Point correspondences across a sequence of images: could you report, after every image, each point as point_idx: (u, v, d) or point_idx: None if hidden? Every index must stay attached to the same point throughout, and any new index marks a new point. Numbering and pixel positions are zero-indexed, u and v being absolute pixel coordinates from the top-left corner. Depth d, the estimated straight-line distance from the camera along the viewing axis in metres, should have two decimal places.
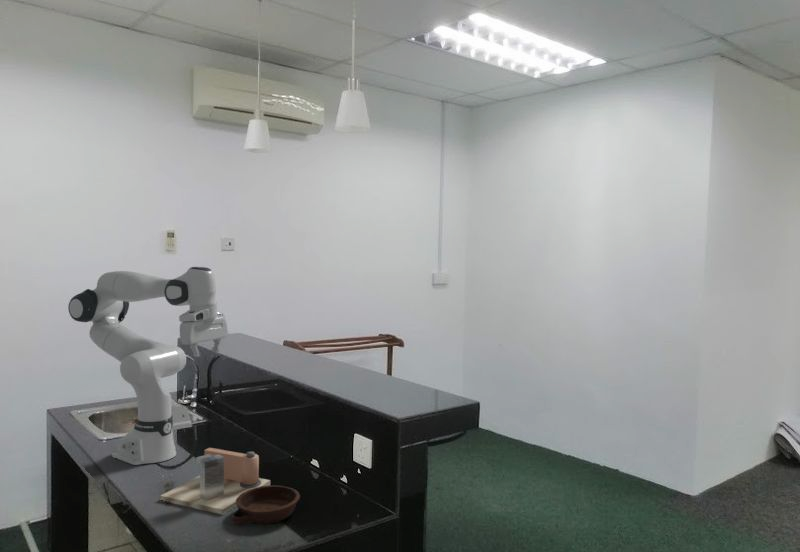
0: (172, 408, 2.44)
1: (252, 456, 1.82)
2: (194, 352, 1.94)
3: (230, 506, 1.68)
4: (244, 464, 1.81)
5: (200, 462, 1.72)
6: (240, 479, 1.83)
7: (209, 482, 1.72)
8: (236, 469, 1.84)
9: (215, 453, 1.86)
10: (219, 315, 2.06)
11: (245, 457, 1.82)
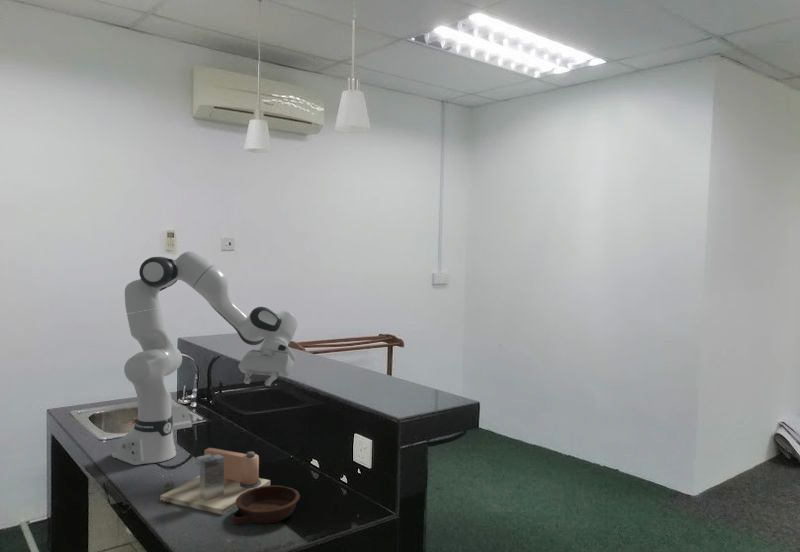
0: (172, 408, 2.44)
1: (252, 456, 1.82)
2: (270, 380, 2.02)
3: (230, 506, 1.68)
4: (244, 464, 1.81)
5: (200, 462, 1.72)
6: (240, 479, 1.83)
7: (209, 482, 1.72)
8: (236, 469, 1.84)
9: (215, 453, 1.86)
10: None
11: (245, 457, 1.82)
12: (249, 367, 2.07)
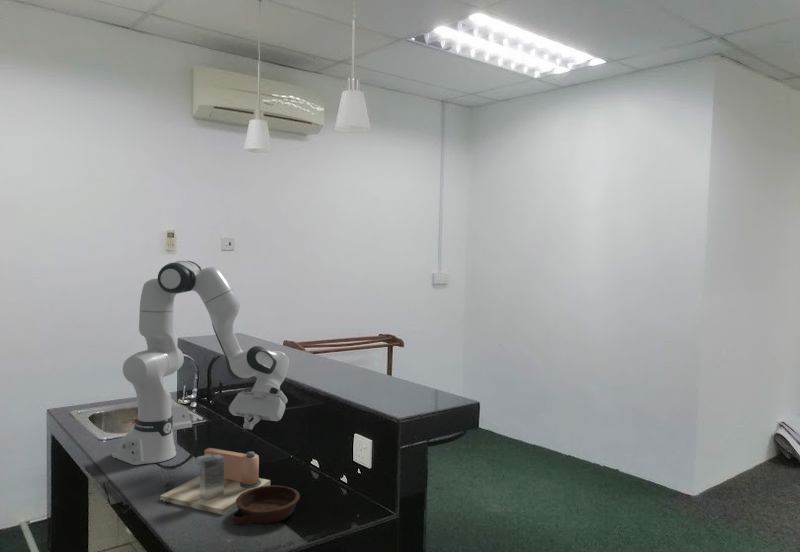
0: (172, 408, 2.43)
1: (252, 456, 1.82)
2: (252, 424, 1.99)
3: (230, 506, 1.68)
4: (244, 464, 1.81)
5: (200, 462, 1.72)
6: (240, 479, 1.83)
7: (209, 482, 1.72)
8: (236, 469, 1.84)
9: (215, 453, 1.86)
10: None
11: (245, 457, 1.82)
12: (240, 410, 2.02)
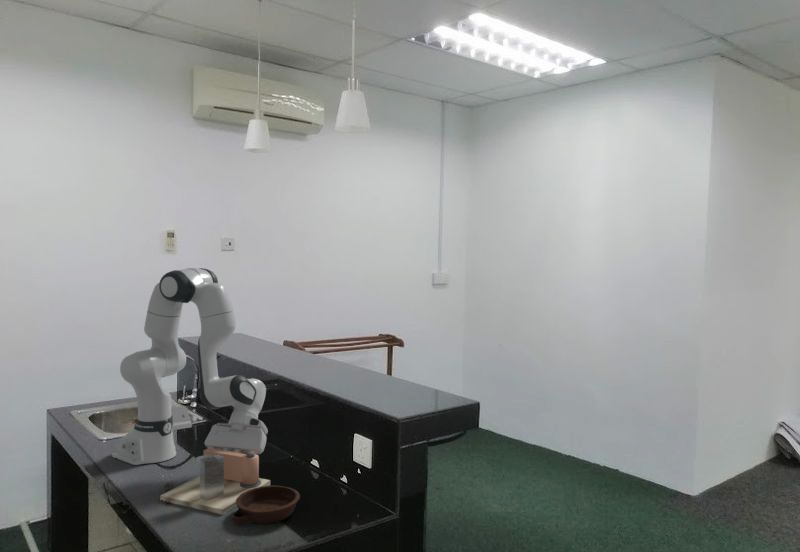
0: (172, 408, 2.43)
1: (252, 456, 1.82)
2: None
3: (230, 506, 1.68)
4: (244, 464, 1.81)
5: (200, 462, 1.72)
6: (240, 479, 1.83)
7: (209, 482, 1.72)
8: (236, 470, 1.83)
9: (214, 453, 1.86)
10: None
11: (245, 457, 1.82)
12: (218, 444, 1.92)
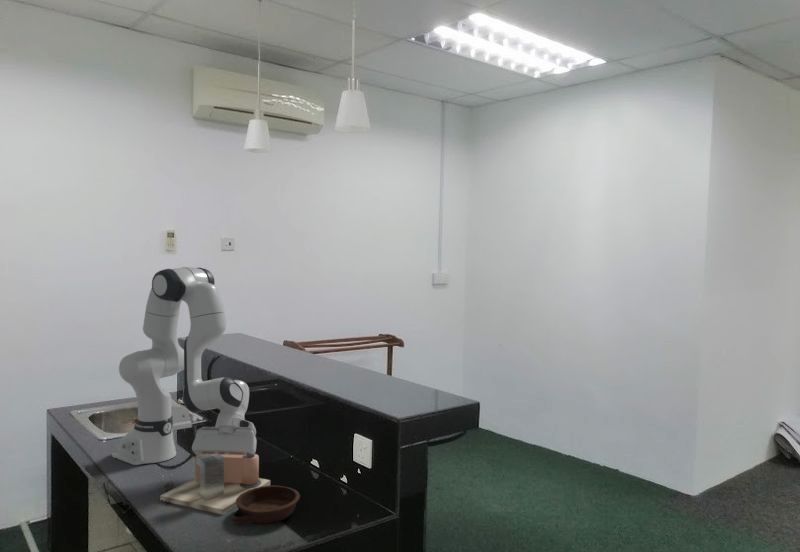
0: (172, 408, 2.43)
1: (253, 456, 1.82)
2: None
3: (230, 506, 1.68)
4: (246, 464, 1.81)
5: (200, 462, 1.72)
6: (240, 480, 1.82)
7: (209, 482, 1.72)
8: (235, 471, 1.82)
9: None
10: None
11: (246, 457, 1.82)
12: (207, 448, 1.88)
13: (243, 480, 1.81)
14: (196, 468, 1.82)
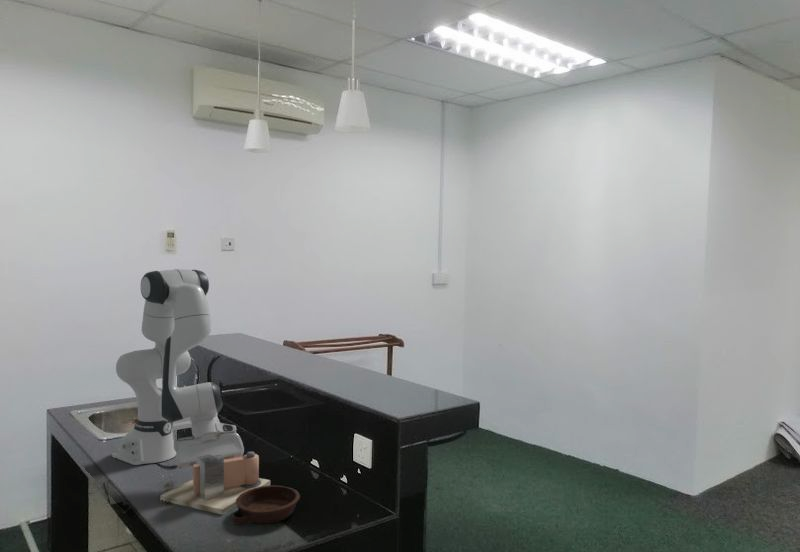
0: None
1: (254, 455, 1.83)
2: None
3: (230, 506, 1.68)
4: (251, 464, 1.81)
5: (200, 462, 1.72)
6: (242, 482, 1.81)
7: (209, 482, 1.72)
8: (237, 474, 1.80)
9: None
10: None
11: (248, 458, 1.81)
12: (196, 459, 1.79)
13: (246, 481, 1.81)
14: (195, 479, 1.74)
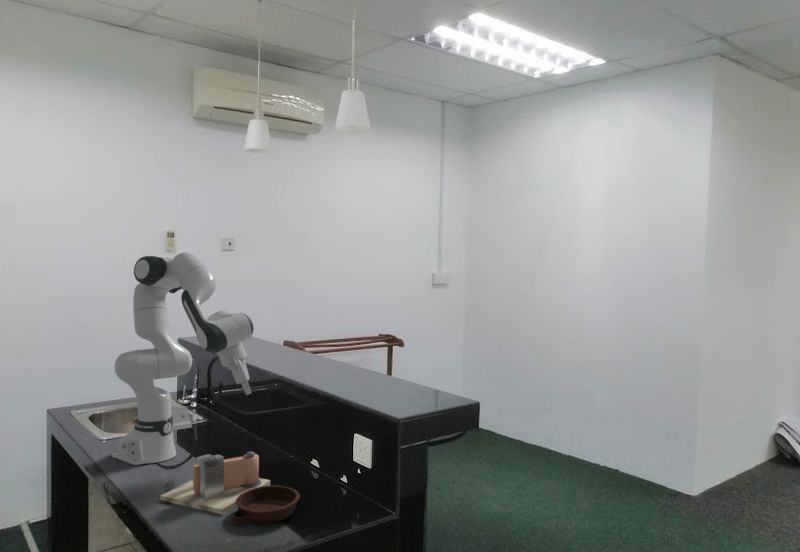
0: (172, 408, 2.43)
1: (254, 455, 1.83)
2: None
3: (230, 506, 1.68)
4: (251, 464, 1.81)
5: (200, 462, 1.72)
6: (242, 482, 1.81)
7: (209, 482, 1.72)
8: (237, 474, 1.80)
9: None
10: (232, 360, 1.94)
11: (248, 458, 1.81)
12: (247, 378, 1.97)
13: (246, 481, 1.81)
14: (195, 479, 1.74)
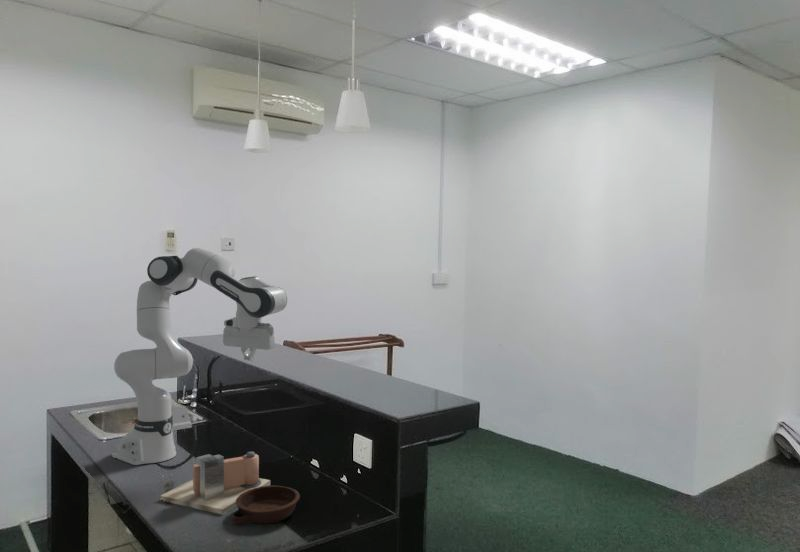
0: (172, 408, 2.43)
1: (254, 455, 1.83)
2: None
3: (230, 506, 1.68)
4: (251, 464, 1.81)
5: (200, 462, 1.72)
6: (242, 482, 1.81)
7: (209, 482, 1.72)
8: (237, 474, 1.80)
9: None
10: (265, 326, 2.06)
11: (248, 458, 1.81)
12: None
13: (246, 481, 1.81)
14: (195, 479, 1.74)
